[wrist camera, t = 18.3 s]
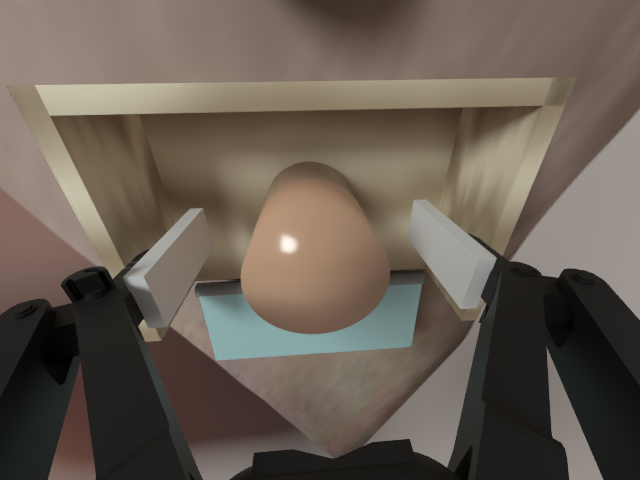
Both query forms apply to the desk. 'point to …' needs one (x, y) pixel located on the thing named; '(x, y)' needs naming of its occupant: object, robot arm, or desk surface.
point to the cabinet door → (267, 340)
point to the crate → (291, 156)
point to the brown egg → (313, 254)
